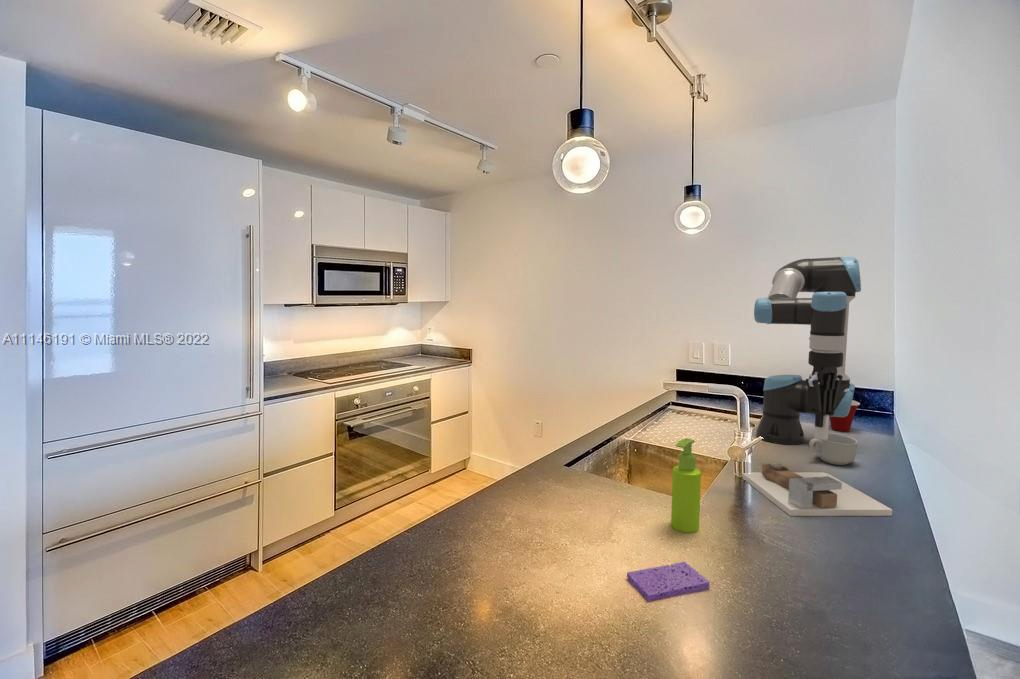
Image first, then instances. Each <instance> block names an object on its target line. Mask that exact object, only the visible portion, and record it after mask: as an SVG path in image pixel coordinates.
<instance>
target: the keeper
mask: <svg viewBox="0 0 1020 679" xmlns="http://www.w3.org/2000/svg"><path fill="white" fill-rule="evenodd" d="M842 482H843V481H842ZM842 482H839V481H837V480H835V479H833V478H831V477H829V476H825V477H808V478H791V479H789V496H788V502H789V503H791V504H792V505H794V506H796V507H797V508H799V509H812V499H813V491H820V490H836V489H841V488H842Z"/></svg>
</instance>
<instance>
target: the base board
mask: <svg viewBox="0 0 1020 679" xmlns="http://www.w3.org/2000/svg"><path fill="white" fill-rule="evenodd" d="M794 473H796V474H798V475H800V476H802V477H804V478H808V477H825V476H829V477H831V478H833V479H835V480H837V481H839V482H842V488H841V489H836V490H830V491H832V492H834V493H836V494H837V507H824V508H821V507H819V506H818V505H816V504H814V503H812V509H799V508H797V507H796V506H794V505H792V504H791V503H789V502H788V496H789V489H787V488H785V487H784V486H782V485H780V484H778V483H776V482H775V481H771V480H768V479H766V478H765V477H764V475H762V471H761V472H755V471H754V472H752V471H751V474H746V473H742V477H743V478H742V480H743V481H745V480H746V481H745V482H747V484H749V485H750V486H751V485H752V486H751V487H753V488H754V489H755V490H756V491H758V492H759V493H761V495H763V496H764V497H765V498H766V499H768V500H769V501H771V503H773V504H774V505H776V506H777V507H778V508H779V509H781V510H782V511H783V512H785V513H786V514H787V515H788V516H790V517H792V516H793V517H795V516H797V517H802V516H803V517H807V516H808V517H811V516H812V517H817V516H818V517H827V516H828V517H835V516H836V517H838V516H839V517H843V516H844V517H850V516H851V517H855V516H857V517H864V516H865V517H869V516H870V517H884V516H885V517H892V516H893V509H891V508H890V507H888V506H886V505H885V504H883V503H881V502H880V501H877V500H875V499H874V498H872V497H870V496H869V495H867V494H865V493H863V492H862V491H860V490H858V489H857V488H855V487H852V486H851V485H849V484H847V483H846V482H844V481H842V480H840V479H838V478H837V477H834V476H833V475H831V474H829V473H827V472H815V471H814V472H813V471H812V472H808V471H807V472H805V471H804V472H802V471H801V472H794Z"/></svg>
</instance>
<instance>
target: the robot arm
mask: <svg viewBox="0 0 1020 679" xmlns="http://www.w3.org/2000/svg"><path fill="white" fill-rule="evenodd" d="M861 282H862V280H861V270H860V264H859V260H858V259H857V258H856V257H851V256H839V257H838V256H836V257H821V258H820V257H819V258H818V257H816V258H800V259H797V260H794V261H791V262H789V263H787V264H786V265H783V266H782V267H781V268H779V269H778V270H777V271H776V272H775V274H774V276H773V277H772V281H771V283H772V287H771V289H770V291H769V294H768V296H767V297H760V298H757V299H755V301H754V308H753V318H754V321H755V322H756V323H758V324H766V325H807V326H809V325H810V332H809V338H808V340H809V345H808V346H809V349H810V350H809V352H808V362H807V363H808V365H809V366H812V367H813V368H812V372H811V373H810V374H809V376H808V378H806V379H803V377H802V375H799V374H776V375H771V376H768V377H766V378H765V379H764V384H763V389H762V391H763V400H762V402H763V403H762V415H761V418H760V420H759V423H758V425H757V428H756V432H755V433H756V434H755V436H756V437H757V438H758V437H759V436H761V437H763V438H764V439H763V440H762V441H766V442H769V443H773V444H781V445H790V446H791V445H801V444H803V443H805V433H804V430H803V428H802V424H801V421H800V416H801V414H809V415H814V430H813V438H819V439H823V440H826V439H828V432H829V428H830V426H829V425H830V417H846V416H847V415H848V414H849V411H850V407H851V403H852V400H853V399H854V393H855V387H856V386H855V384H853V383H850V382H851V377H849V376H848V375H847V374H846V362H847V360H846V359H847V347H848V346H847V344H848V343H847V342H848V332H849V331H848V329H849V328H848V327H849V315H850V314H849V312H850V303H851V302H852V301H853V300H854V299H855V298H856V293H860V292H861V291H862V284H861ZM799 293H813V294H812V297H798V294H799ZM829 416H830V417H829Z"/></svg>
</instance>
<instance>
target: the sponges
mask: <svg viewBox="0 0 1020 679" xmlns="http://www.w3.org/2000/svg"><path fill="white" fill-rule="evenodd" d="M626 577H627V578H628V580H627V581H628V582H629V583H630V584H631V585H632V586H633V587H634V588H635V589H636V590H637V591H638V592H639V593H640V594H641V595H642V596H643V597H644V599H645V600H646V601H647V602H653V601H658V600H663V599H668V598H671V597H676V596H682V595H683V596H684V595H687V594H691V593H697V592H703V591H707V590H710V587H711V586H710V582H711V581H710V580H709V579H708V578H706V577H705V576H704V575H702V574H699V571H697V570H696V569H695V568H694V567H692V566H691V565H690V564H689V563H687V562H686V561H681V562H680V561H679V562H676V563H672V564H671V565H668V564H666V565H660V566H655V567H648V568H644V569H638V570H634V571H627V573H626Z"/></svg>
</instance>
